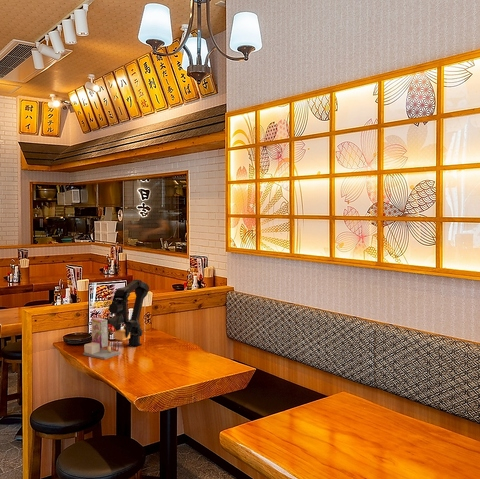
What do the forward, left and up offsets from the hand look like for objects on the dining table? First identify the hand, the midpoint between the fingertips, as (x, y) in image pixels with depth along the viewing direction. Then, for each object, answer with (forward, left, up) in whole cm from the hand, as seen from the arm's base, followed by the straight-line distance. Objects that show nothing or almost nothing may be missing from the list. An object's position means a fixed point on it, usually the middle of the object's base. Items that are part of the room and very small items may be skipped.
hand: (122, 336), depth 291 cm
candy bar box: (-3, -22, -9) cm, 24 cm away
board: (+10, -7, -9) cm, 15 cm away
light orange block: (0, 0, -1) cm, 1 cm away
